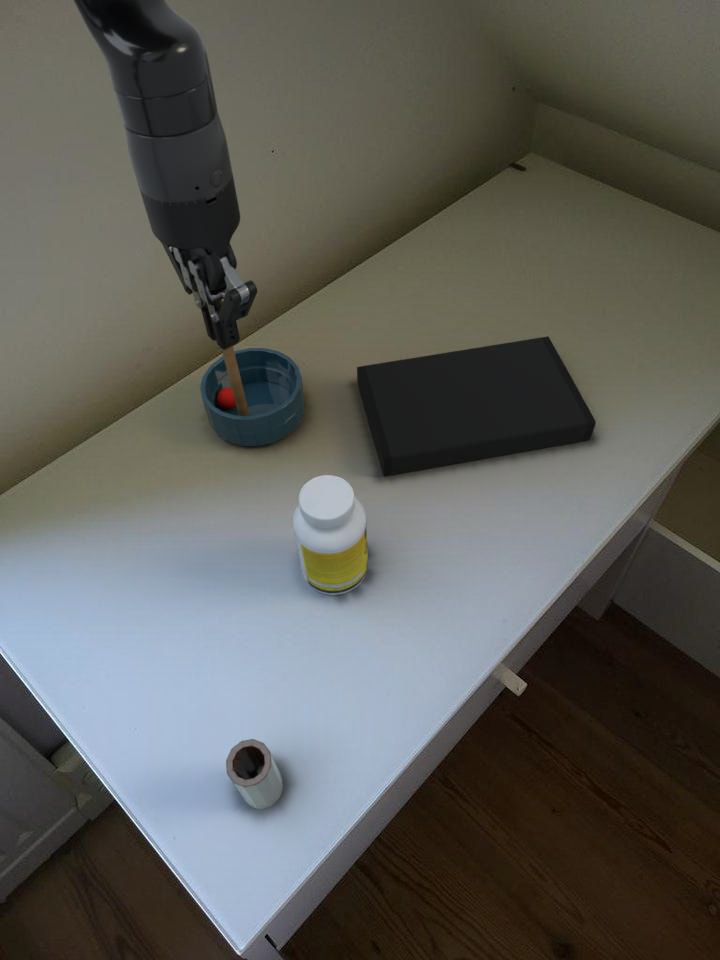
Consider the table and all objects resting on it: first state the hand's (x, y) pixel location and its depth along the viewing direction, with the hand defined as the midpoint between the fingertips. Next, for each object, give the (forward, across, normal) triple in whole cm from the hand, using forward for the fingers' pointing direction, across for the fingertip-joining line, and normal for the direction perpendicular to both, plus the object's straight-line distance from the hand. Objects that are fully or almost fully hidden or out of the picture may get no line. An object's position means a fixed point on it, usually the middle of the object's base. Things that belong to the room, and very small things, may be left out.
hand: (224, 339), depth 69 cm
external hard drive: (+13, +16, +20) cm, 29 cm away
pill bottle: (+13, +22, -4) cm, 25 cm away
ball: (+11, -3, 0) cm, 11 cm away
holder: (+12, +33, -21) cm, 41 cm away
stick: (+11, 0, 0) cm, 11 cm away
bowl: (+12, 0, +2) cm, 12 cm away
